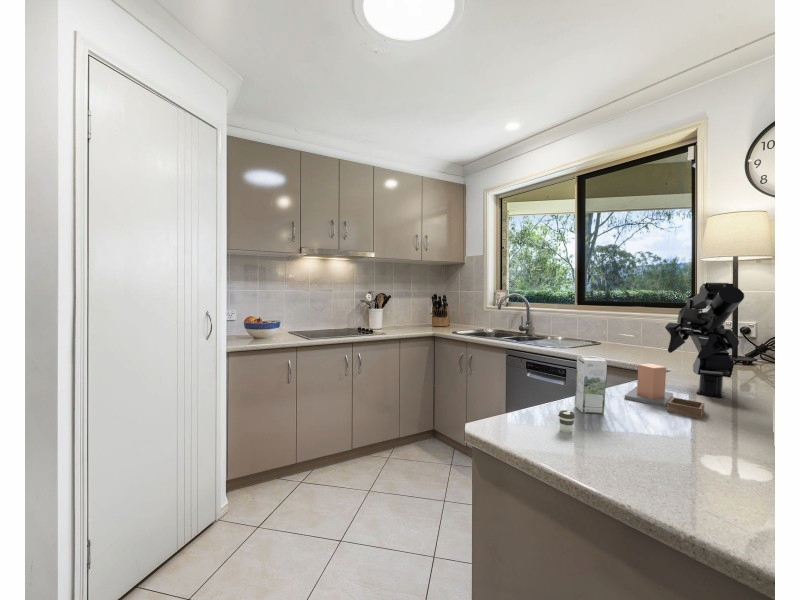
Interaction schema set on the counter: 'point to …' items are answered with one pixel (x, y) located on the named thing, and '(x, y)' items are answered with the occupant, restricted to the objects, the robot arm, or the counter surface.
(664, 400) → the slate board
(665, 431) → the counter surface
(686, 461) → the counter surface
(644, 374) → the terracotta block
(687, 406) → the walnut holder
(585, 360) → the syrup box
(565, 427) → the coffee cup
